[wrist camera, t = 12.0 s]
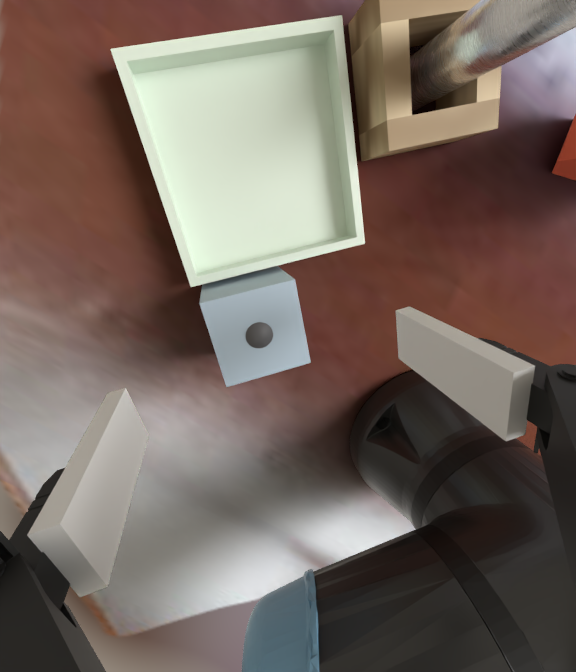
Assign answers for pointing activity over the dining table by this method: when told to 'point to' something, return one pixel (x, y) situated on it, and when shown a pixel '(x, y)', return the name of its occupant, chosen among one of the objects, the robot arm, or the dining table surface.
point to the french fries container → (567, 155)
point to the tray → (249, 143)
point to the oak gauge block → (395, 79)
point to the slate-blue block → (255, 324)
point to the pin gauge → (485, 43)
